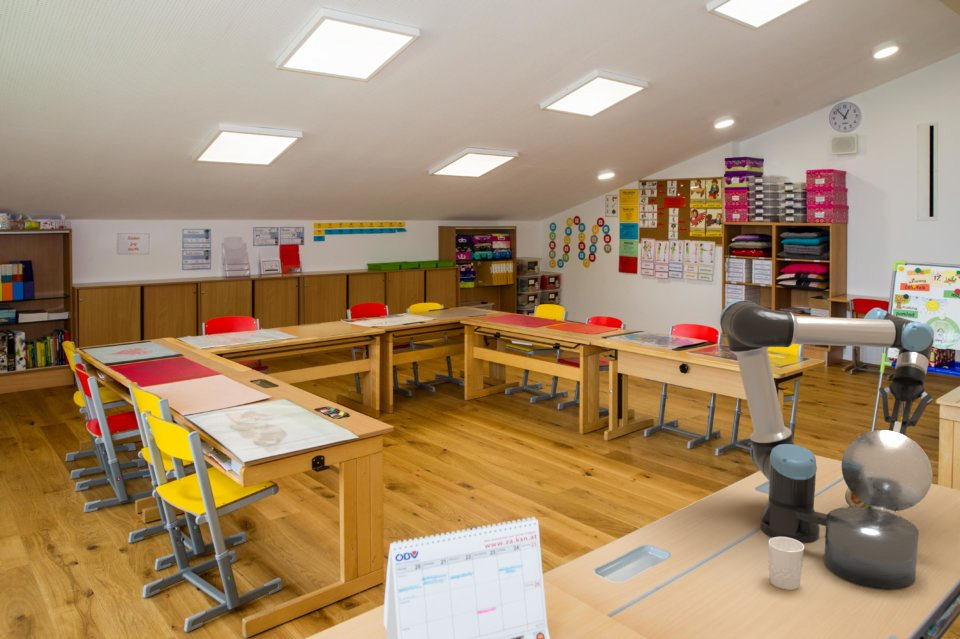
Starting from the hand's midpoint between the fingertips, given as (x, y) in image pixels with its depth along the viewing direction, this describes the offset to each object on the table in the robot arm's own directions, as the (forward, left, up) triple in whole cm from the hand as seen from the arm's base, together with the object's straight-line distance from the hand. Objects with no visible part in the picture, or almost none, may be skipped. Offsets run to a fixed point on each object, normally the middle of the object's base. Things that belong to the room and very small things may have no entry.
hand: (894, 445), depth 188 cm
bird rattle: (-12, +20, -28) cm, 36 cm away
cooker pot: (-4, -19, -27) cm, 34 cm away
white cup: (-15, -39, -27) cm, 50 cm away
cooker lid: (-1, -7, -5) cm, 9 cm away
